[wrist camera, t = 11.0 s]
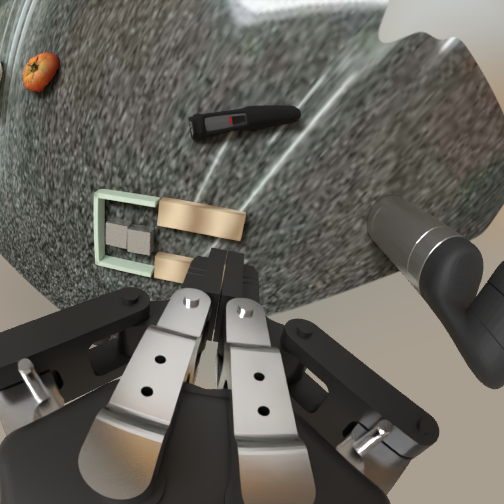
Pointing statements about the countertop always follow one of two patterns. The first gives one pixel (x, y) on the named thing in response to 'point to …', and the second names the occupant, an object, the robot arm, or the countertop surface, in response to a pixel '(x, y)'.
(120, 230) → the metal chip
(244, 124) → the electric trimmer
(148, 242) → the metal chip
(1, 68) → the lidded bowl
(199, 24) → the countertop surface
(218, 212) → the slot rails
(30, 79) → the tomato
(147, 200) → the box
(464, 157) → the countertop surface
